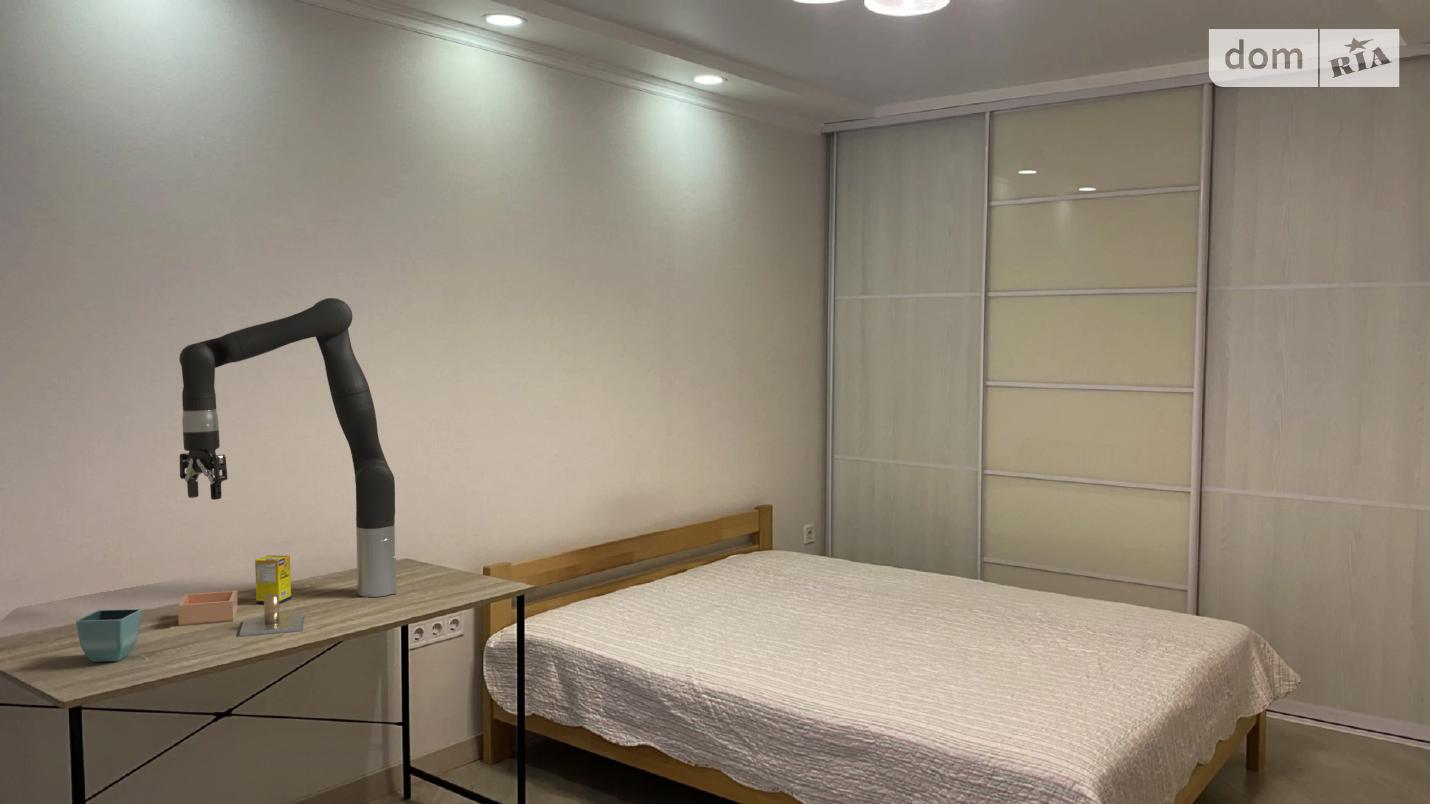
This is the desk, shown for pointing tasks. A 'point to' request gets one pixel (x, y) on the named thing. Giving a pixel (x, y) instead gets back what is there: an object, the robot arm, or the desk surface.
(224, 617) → the open box
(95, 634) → the flower pot
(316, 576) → the desk surface
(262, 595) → the supplement box
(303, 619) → the mat
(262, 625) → the lid
